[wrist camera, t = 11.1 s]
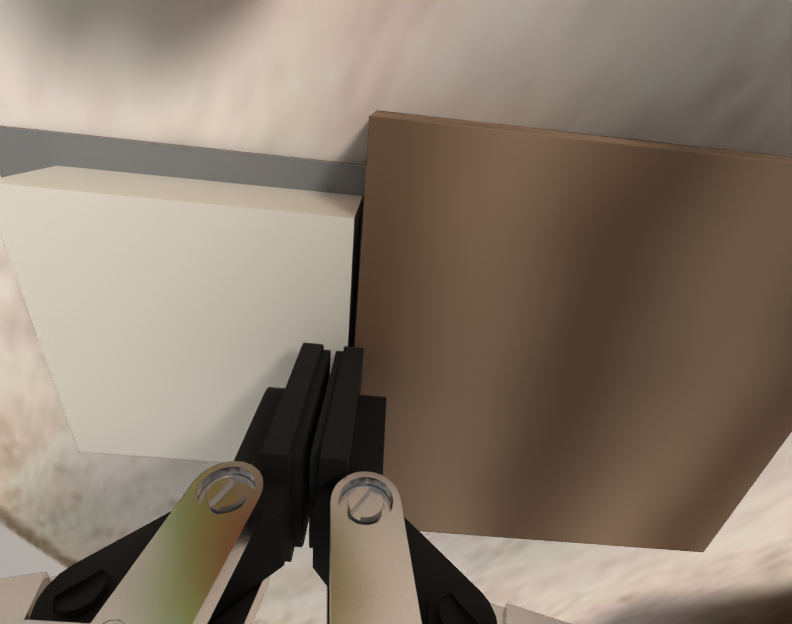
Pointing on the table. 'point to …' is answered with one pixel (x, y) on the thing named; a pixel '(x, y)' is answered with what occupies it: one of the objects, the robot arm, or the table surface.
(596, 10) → the table surface
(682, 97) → the table surface
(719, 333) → the brown wooden square slab
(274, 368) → the tile
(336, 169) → the mat
